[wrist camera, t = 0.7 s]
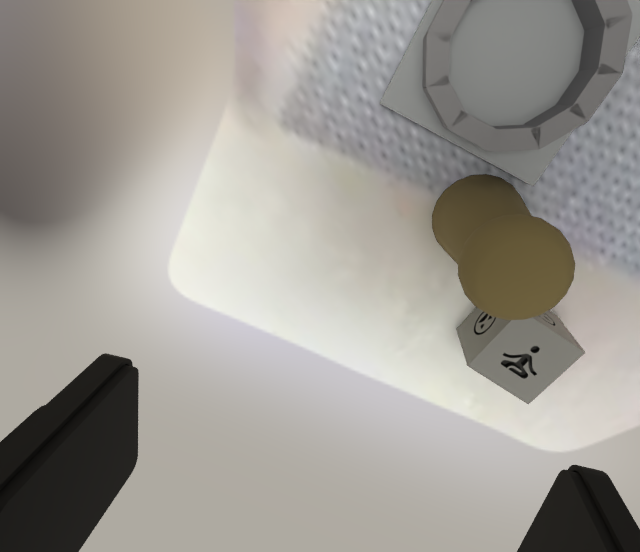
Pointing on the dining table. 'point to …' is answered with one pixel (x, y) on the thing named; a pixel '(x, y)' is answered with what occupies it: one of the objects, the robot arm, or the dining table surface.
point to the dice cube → (518, 351)
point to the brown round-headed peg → (502, 248)
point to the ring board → (512, 74)
